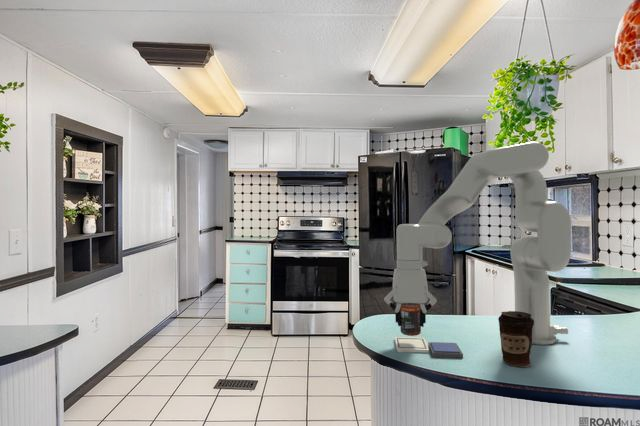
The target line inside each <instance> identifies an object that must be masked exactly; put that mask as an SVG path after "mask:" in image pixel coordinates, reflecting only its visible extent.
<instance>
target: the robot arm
mask: <svg viewBox="0 0 640 426" xmlns="http://www.w3.org/2000/svg"><path fill="white" fill-rule="evenodd" d="M549 156H550V154H549V150H548V148H547V147H546V146H545V145H544V144H542V143H541V142H536V141H530V142H529V141H528V142H525V143H520V144H514V145H509V146H502V147H497V148H492V149H488V150H484V151H480V152H478V153H476V154H473V155H472V156H471V157H470V158H469V159H468V161H467V162H466V163H465V164H464V166H463V168H462V169H461V170H460V172H459V173H458V175H457V176H456V177H455V178H454V181H452V183H451V185H449V187H448V189H447V190H446V191H445V192H444V193H443V194H441V196H440V197H439V198H437V200H435V201H434V202H433V203H432V204H431V206H429V208H428V209H427V210H426V211H425V212H424V214H423V215H422V217H421V218H420V219H419V221H418V222H417V223H402V224H399V225H397V226H396V231H395V232H396V268H394V270H393V275H392V276H393V277H392V290H391V291H390V292H388V294H387V295H386V296H385V297H384V298H383V299H384V300H383V301H384V302H385V303H386V304H387V305H388V306H389V307H390V308H391V309H392V310H393V311H394V313H395V314H394V315H395V318H394V319H395V323H397V325H398V326H397V327H401V313H400V307H401V305H402V304H405V303H415V304H420V317H421V328H424V326H425V325H424V324H426V323H427V321H426V316H427V315H426V314H427V312H429V310H430V309H431V308H432V307H434V305H436V303H437V302H438V300H437V299H436V298H435V296H434V295H432V293H430V292H429V289H428V281H427V274H426V270H425V269H424V268H425V267H427V266H428V261H427V260H424V259H423V248H429V249H430V248H431V249H443V248H446V247H447V246H448V245H450V243H451V242H452V234H453V233H452V231H451V230H450V228H449V227H448V226H447V225H446V224H447V223H448V221H450V219H452V218H453V217H455V216H456V215H458V214H459V213H462V212H464V211H466V210H468V209H469V208H470V207H472V206H473V205H474V203H475V202H476V201H477V199H478V198H479V196H480V194H482V192H483V190H484V189H485V188H486V186H487V185H488V183H489V182H490V181H491V180H493V179H499V178H504V177H508V178H509V179H510V181H511V182H512V183H513V185H514V190H515V191H514V192H515V224H516V226H517V228H518V229H519V230H521V231H523V232H527V233H535V234H537V236H522V237H521V236H520V237H519V238H517V239H515V240H514V241H513V243H512V244H511V247H510V253H509V254H510V260H511V264H512V269H513V279H514V280H513V281H514V283H513V285H514V286H513V287H514V291H513V292H514V311H518V312H525V313H528V314H531V318H532V319H533V320H534V326H533V328H532V345H543V346H544V345H545V346H546V345H552V344H555V343H557V340H558V339H557V336H556V335H558V334H560V335H568V334H569V329H568V327H563V326H562V327H560V326H559V325H552V324H551V302H550V300H551V298H550V295H551V294H550V291H551V289H550V286H551V285H550V279H549V275H548V272H551V273H556V272H560V271H562V270H564V269H565V268H566V267H567V266H568V265H569V263H570V260H571V259H570V258H571V248H572V241H571V240H572V235H571V234H572V221H571V214H570V212H569V210H568V209H567V207H566V206H565V205H564V204H562V203H561V202H558V201H554V200H553V201H552V200H551V201H550V200H548V188H547V182H546V179H545V177H544V175H543V174H542V173H541V172H540V170H541V169H542V168H544V167H545V166H546V165H547V164H548V161H549V158H550V157H549ZM391 299H393V301H391Z"/></svg>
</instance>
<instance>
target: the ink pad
mask: <svg viewBox="0 0 640 426" xmlns="http://www.w3.org/2000/svg"><path fill="white" fill-rule="evenodd" d="M427 343H428V344H427V346H428V348H429V353H430V354H431V356H432V358H448V359H450V358H451V359H452V358H453V359H454V358H455V359H463V358H464V353H463V352H462V350H461V349H460V347H459V345H458V344H457V343H456V342H439V341H438V342H436V341H433V342H432V341H431V342H429V341H428V342H427Z"/></svg>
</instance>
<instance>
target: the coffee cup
mask: <svg viewBox="0 0 640 426" xmlns="http://www.w3.org/2000/svg"><path fill="white" fill-rule="evenodd" d="M497 320H498V326H499V327H498V328H499V336H500V349H501V354H502V361H503V363H505V364H507V365H509V366H513V367H521V368H524V367H525V368H527V367H530V366H531V364H532V363H531V360H530V355H531V350H532V349H531V348H532V345H533V344H532V328H533V326H534V320H533V319H532V318H531V314H528V313H525V312H518V311H515V310H514V311H513V310H509V311H502V312H501V315H499V316H498V318H497Z"/></svg>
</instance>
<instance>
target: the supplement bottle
mask: <svg viewBox="0 0 640 426" xmlns="http://www.w3.org/2000/svg"><path fill="white" fill-rule="evenodd" d="M420 311H421V307H420V304H415V303H405V304H402V305H401V307H400V313H401V326H400V332H401V334H402V335H405V336H407V337H408V336H409V337H416V336H419V335H420V334H421V333H422V326H421V317H420Z"/></svg>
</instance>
